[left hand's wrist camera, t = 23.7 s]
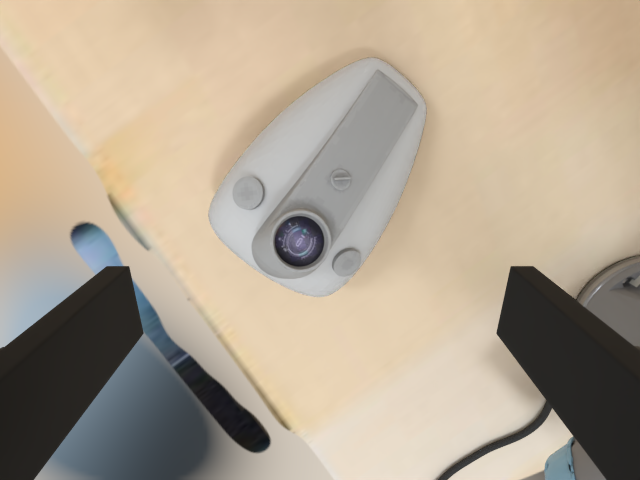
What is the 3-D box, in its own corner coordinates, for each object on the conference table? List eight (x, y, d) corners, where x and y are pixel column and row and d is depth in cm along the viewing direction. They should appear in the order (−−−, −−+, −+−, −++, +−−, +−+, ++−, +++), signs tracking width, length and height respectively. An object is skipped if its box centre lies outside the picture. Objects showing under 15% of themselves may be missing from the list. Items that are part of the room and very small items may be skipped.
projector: (431, 254, 43) (483, 326, 29) (245, 285, 45) (213, 368, 31) (414, 49, 35) (475, 19, 21) (189, 96, 37) (112, 95, 23)
